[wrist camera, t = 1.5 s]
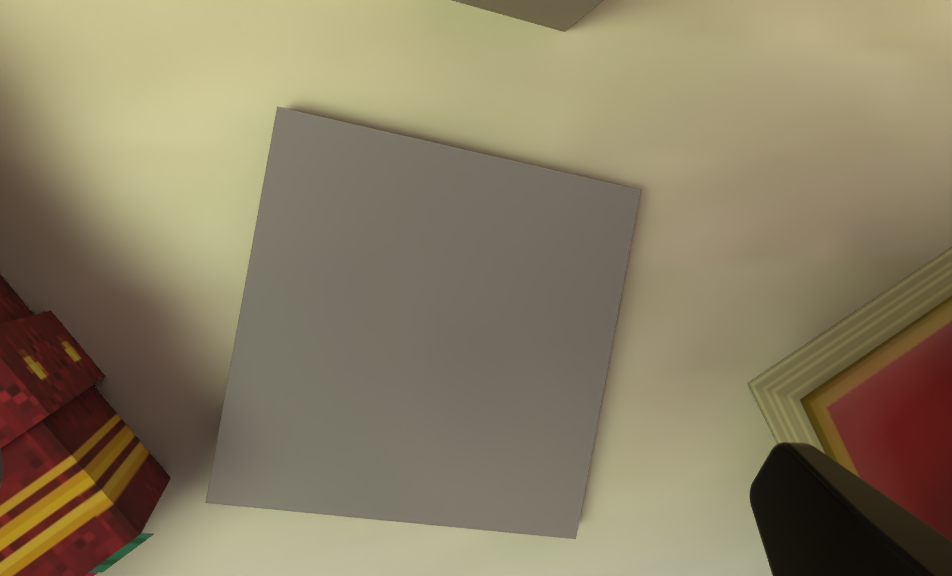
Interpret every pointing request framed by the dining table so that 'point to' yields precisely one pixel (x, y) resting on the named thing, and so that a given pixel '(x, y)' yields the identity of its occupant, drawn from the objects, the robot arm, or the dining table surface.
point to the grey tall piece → (539, 10)
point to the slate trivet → (421, 333)
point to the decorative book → (64, 455)
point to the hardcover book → (878, 393)
